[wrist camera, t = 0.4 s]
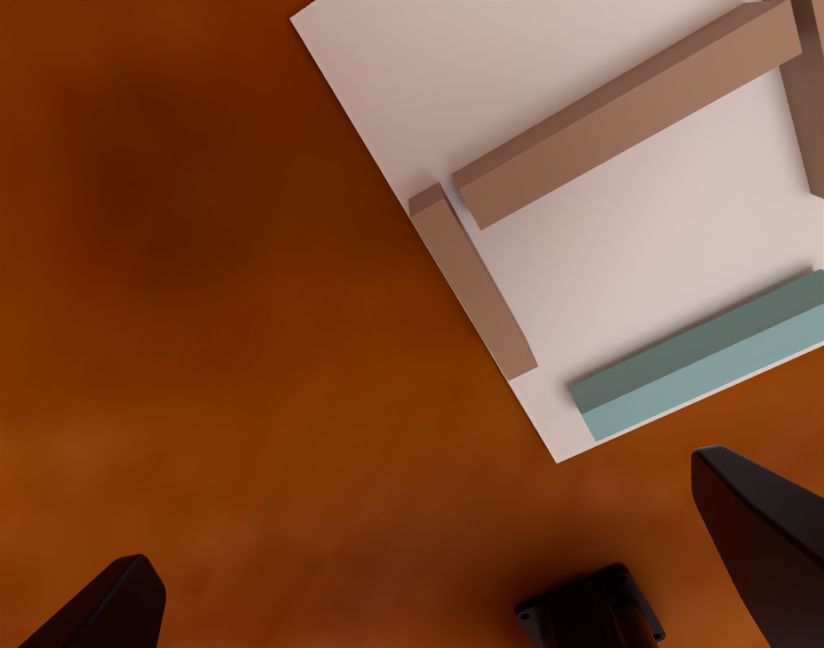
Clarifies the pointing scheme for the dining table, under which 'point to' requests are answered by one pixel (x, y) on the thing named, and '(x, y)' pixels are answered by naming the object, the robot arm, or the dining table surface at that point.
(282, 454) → the dining table surface
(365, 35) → the seat board
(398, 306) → the dining table surface
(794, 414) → the dining table surface
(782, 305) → the bar
